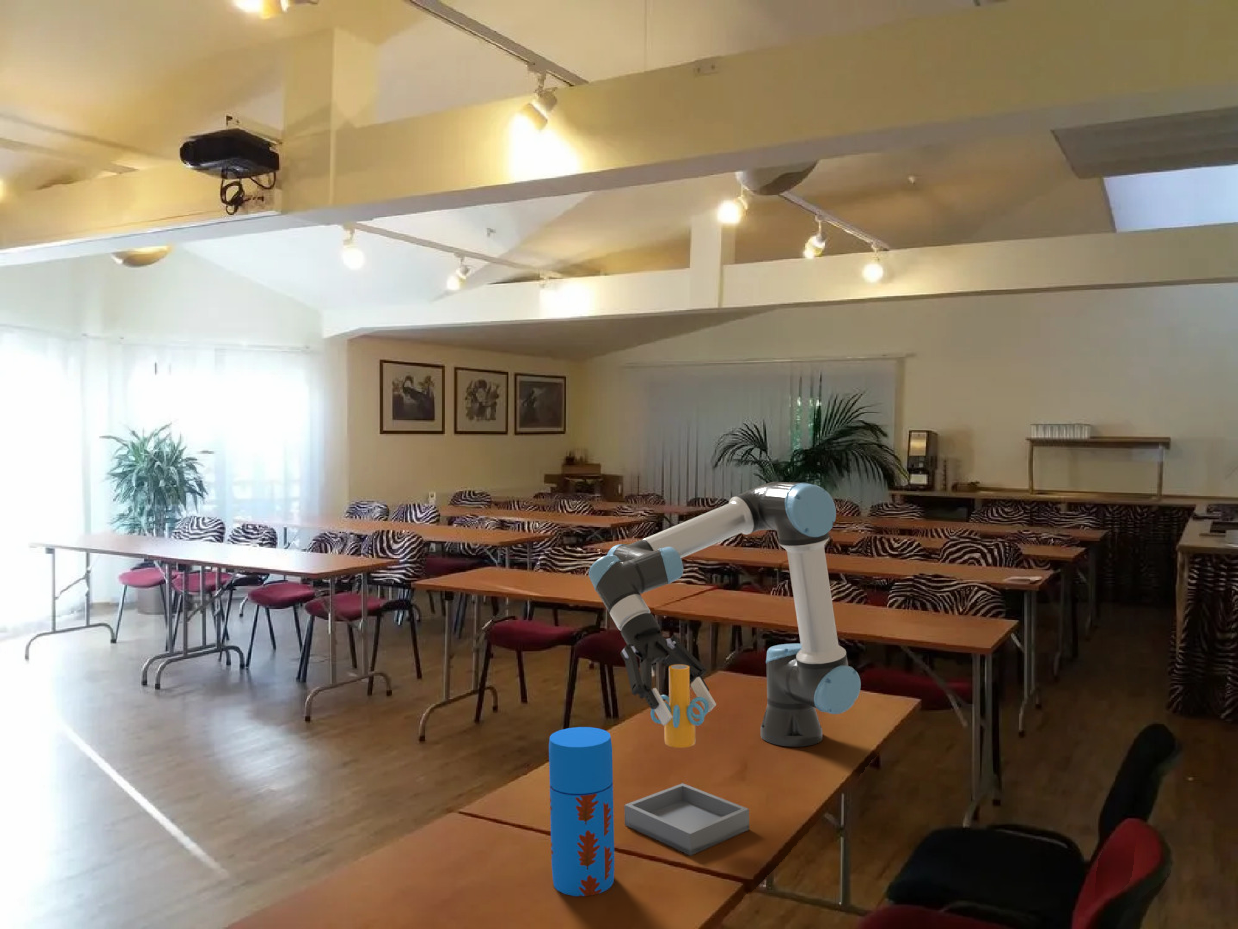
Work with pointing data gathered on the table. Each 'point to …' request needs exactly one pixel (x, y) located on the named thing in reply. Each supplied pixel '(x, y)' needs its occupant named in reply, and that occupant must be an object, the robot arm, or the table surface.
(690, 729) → the cylinder
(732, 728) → the table surface
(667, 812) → the tray
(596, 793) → the thermos
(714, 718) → the table surface
